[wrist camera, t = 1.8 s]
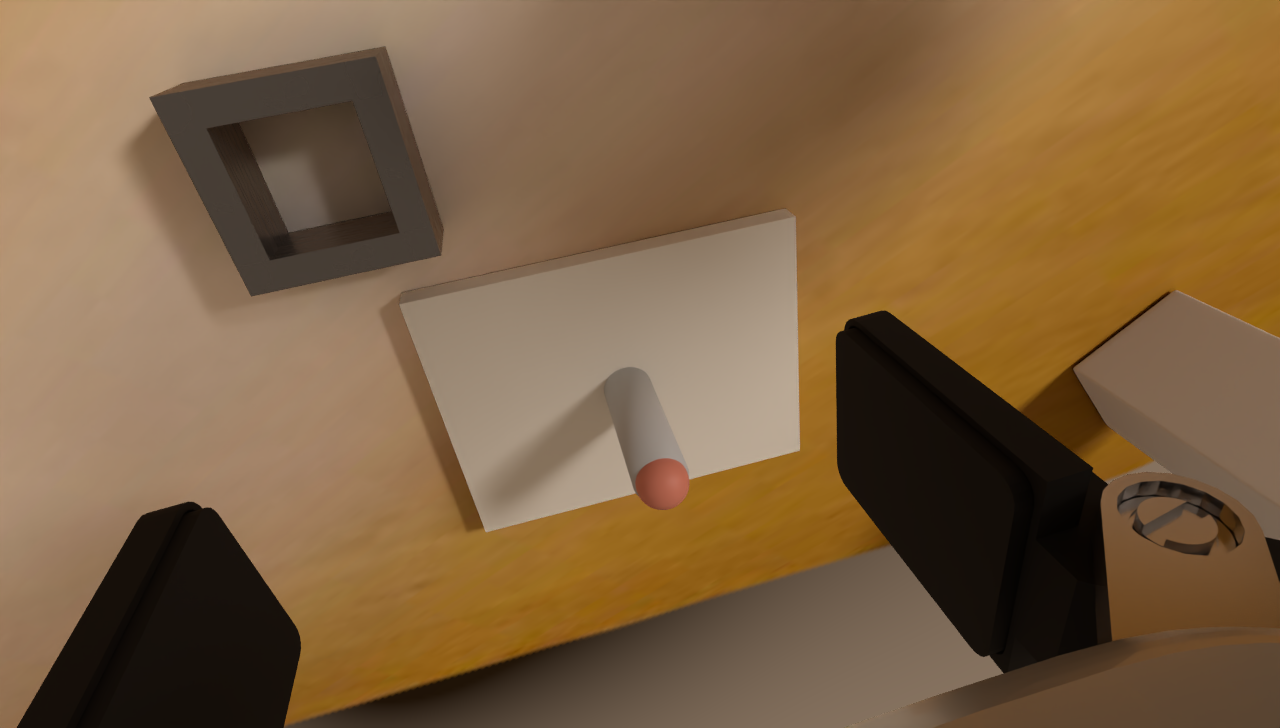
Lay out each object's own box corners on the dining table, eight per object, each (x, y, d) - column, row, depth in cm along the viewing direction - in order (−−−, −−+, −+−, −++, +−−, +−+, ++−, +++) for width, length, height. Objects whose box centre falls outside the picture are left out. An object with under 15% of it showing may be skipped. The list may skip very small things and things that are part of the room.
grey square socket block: (183, 83, 24) (149, 97, 21) (385, 46, 25) (375, 56, 22) (271, 266, 28) (251, 296, 25) (443, 229, 29) (441, 255, 26)
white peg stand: (401, 293, 30) (375, 415, 22) (785, 208, 31) (891, 292, 24) (485, 516, 37) (489, 668, 29) (791, 437, 39) (873, 559, 31)
